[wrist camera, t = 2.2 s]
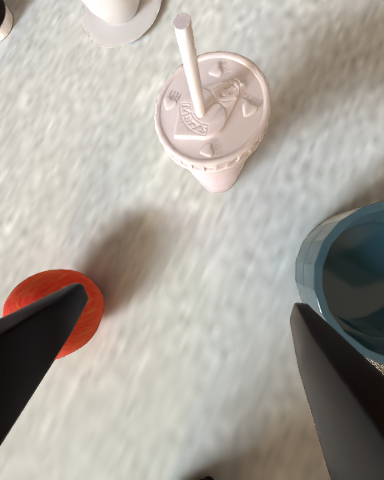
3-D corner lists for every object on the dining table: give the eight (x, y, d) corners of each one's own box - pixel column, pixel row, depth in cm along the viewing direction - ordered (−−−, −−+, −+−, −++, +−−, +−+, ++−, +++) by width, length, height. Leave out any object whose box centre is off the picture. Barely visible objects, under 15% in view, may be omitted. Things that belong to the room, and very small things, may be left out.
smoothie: (176, 170, 21) (72, 17, 7) (225, 131, 20) (218, -132, 6) (211, 218, 20) (173, 150, 6) (264, 178, 19) (360, -5, 5)
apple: (87, 251, 22) (10, 253, 14) (131, 306, 21) (73, 340, 13) (43, 297, 23) (-52, 322, 15) (83, 352, 22) (1, 411, 14)
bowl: (473, 296, 16) (569, 315, 11) (344, 362, 17) (384, 402, 13) (379, 185, 17) (431, 164, 13) (268, 255, 19) (280, 257, 14)
